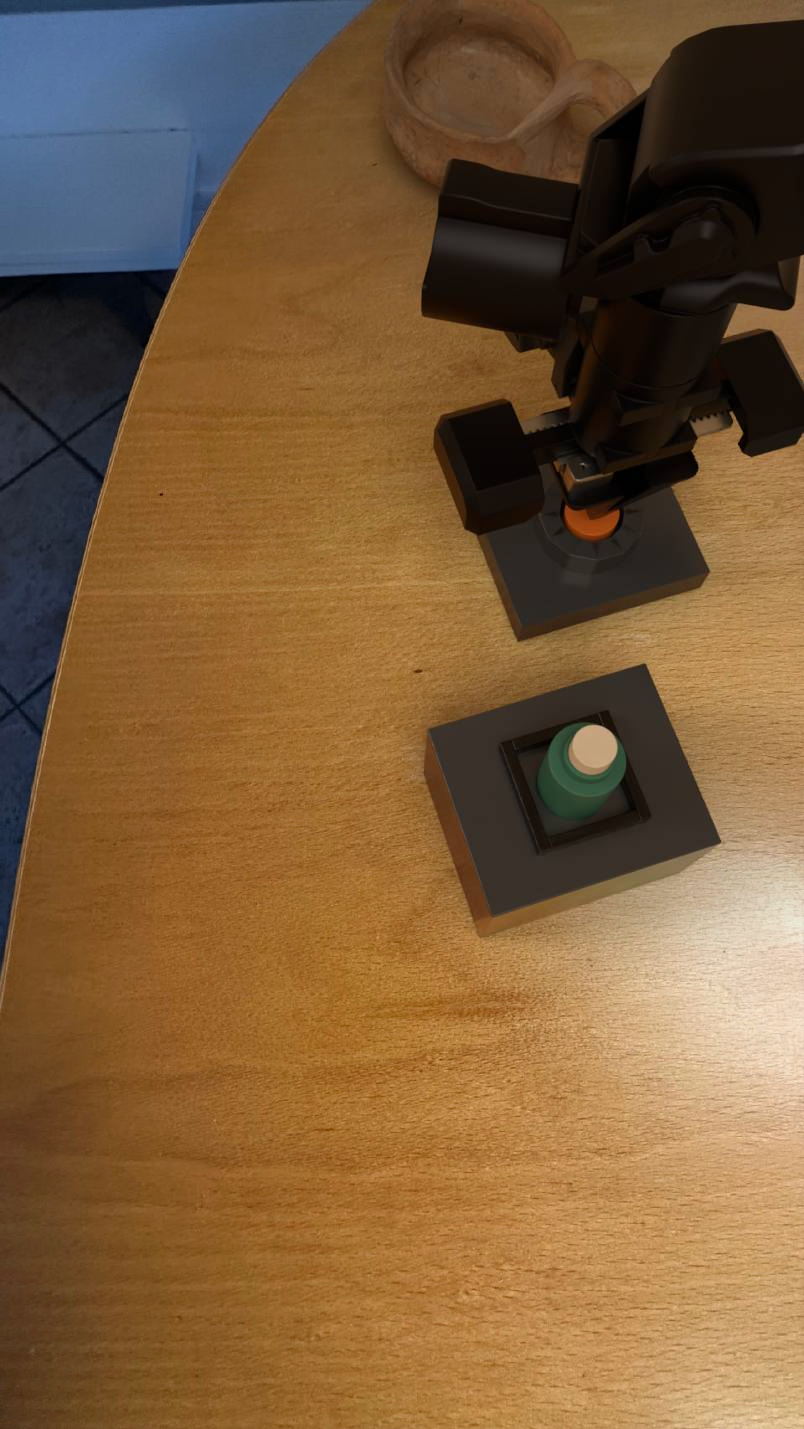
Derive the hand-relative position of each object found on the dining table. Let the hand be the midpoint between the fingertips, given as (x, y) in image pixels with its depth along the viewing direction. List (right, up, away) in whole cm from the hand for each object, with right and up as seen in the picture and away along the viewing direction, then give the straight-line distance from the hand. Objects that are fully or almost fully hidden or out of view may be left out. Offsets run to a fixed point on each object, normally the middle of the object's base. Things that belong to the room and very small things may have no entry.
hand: (593, 511), depth 62 cm
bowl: (-4, +28, +14) cm, 32 cm away
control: (0, -1, +4) cm, 4 cm away
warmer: (-3, -18, -2) cm, 18 cm away
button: (0, -1, +2) cm, 2 cm away
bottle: (-3, -15, -9) cm, 18 cm away
